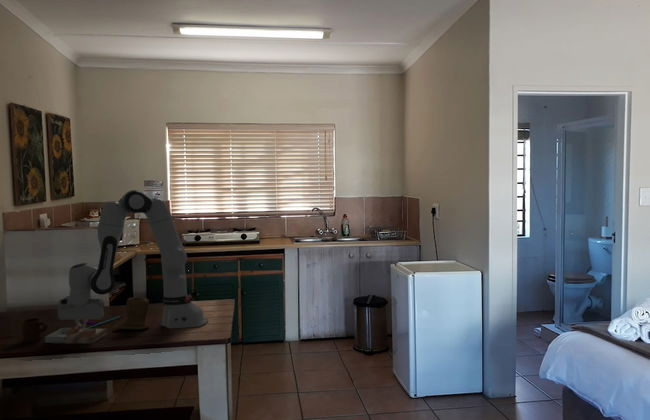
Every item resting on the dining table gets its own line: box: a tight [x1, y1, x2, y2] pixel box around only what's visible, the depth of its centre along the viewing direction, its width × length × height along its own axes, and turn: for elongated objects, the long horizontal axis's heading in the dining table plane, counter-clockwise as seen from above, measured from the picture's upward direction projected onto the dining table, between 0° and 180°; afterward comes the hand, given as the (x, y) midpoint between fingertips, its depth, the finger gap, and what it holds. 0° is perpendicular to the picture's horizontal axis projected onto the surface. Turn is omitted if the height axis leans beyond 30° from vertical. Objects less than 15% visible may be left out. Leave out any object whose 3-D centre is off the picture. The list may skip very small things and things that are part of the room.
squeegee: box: [85, 315, 122, 329], centre depth 257 cm, size 29×2×10 cm
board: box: [63, 328, 108, 344], centre depth 232 cm, size 13×14×2 cm
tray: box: [44, 327, 72, 344], centre depth 233 cm, size 8×14×3 cm, turn 177°
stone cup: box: [113, 297, 151, 331], centre depth 247 cm, size 15×12×15 cm
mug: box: [21, 317, 48, 344], centre depth 230 cm, size 12×8×9 cm, turn 76°
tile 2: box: [79, 328, 97, 337], centre depth 229 cm, size 5×5×2 cm
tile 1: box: [65, 324, 79, 336], centre depth 236 cm, size 5×5×2 cm
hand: (81, 328), depth 235 cm, fingers closed
